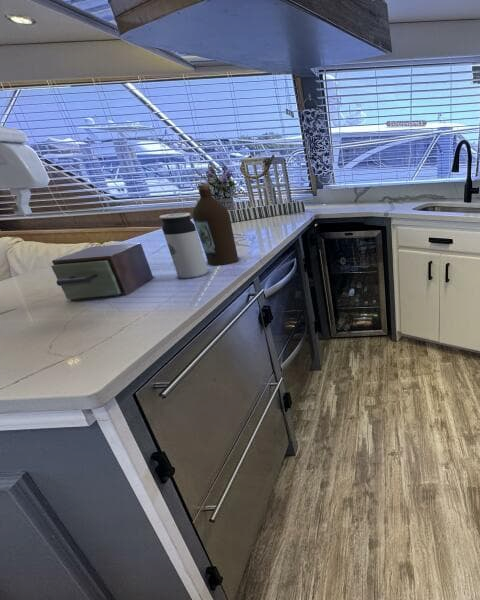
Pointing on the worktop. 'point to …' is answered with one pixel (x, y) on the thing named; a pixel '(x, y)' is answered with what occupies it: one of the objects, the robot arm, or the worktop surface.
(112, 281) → the drawer
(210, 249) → the olive oil
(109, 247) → the storage box
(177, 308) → the worktop surface
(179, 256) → the travel mug
